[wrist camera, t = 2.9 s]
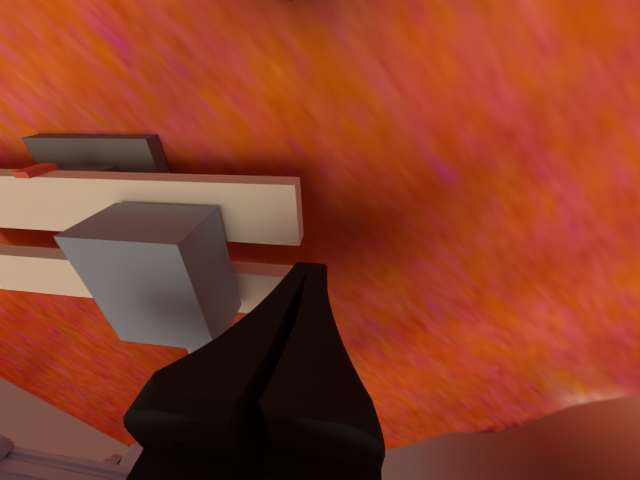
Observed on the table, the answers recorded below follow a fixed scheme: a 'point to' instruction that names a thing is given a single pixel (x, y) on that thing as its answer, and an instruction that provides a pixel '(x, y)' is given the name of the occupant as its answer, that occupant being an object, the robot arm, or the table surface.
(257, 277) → the balance beam
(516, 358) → the table surface
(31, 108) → the table surface
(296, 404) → the robot arm
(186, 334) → the block
